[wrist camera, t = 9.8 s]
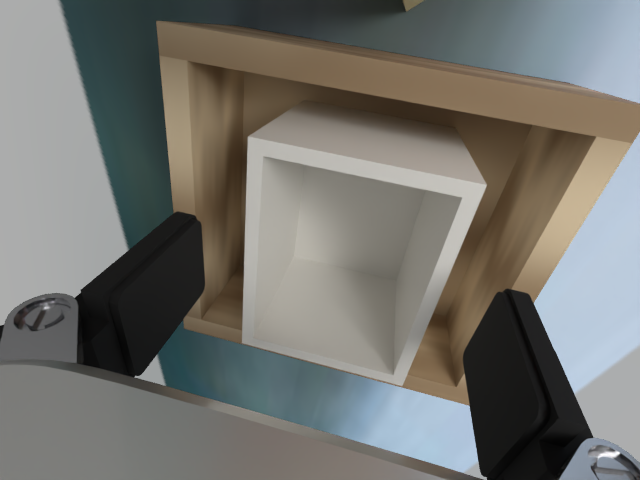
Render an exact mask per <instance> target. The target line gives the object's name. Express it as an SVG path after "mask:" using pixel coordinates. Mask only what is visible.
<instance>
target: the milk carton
mask: <svg viewBox="0 0 640 480" xmlns="http://www.w3.org/2000/svg"><path fill="white" fill-rule="evenodd" d="M402 1H403V4H404V7H405V10H406V12H407V11H408V10H410V9H411V8H413V7H415V6H416V5H418V4H420V3H421V2H423V1H424V0H402Z"/></svg>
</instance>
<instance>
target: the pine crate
mask: <svg viewBox="0 0 640 480" xmlns="http://www.w3.org/2000/svg"><path fill="white" fill-rule="evenodd" d="M156 25H157V36H158V47H159V58H160V69H161V80H162V91H163V101H164V112H165V123H166V134H167V145H168V156H169V167H170V178H171V189H172V200H173V211H174V213H175V212H177V211H179V212H183V213H188V214H192V215H195V216H196V218H197V220H198V221H200V222H201V225H202V240H203V256H204V271H205V289H204V291H203V293H202V295H201V296H200V298H199V299H198V300H197V302H196V303H195V304H194V306H193V307H192V308H191V310H190V311H189V312H188V314H187V315H186V316H185V318H184V319H183V320H184V329H188V330H191V331H195V332H199V333H202V334H206V335H210V336H213V337H217V338H221V339H225V340H228V341H232V342H236V343H239V344H243V343H242V321H243V287H244V253H245V219H246V184H247V150H248V136H249V135H251V134H253V133H254V132H256V131H257V130H259V129H260V128H262V127H263V126H265V125H266V124H268V123H270V122H271V121H273V120H274V119H276V118H277V117H279V116H280V115H282V114H283V113H285V112H287V111H288V110H290V109H291V108H293V107H294V106H296V105H297V104H299V103H300V102H302V101H304V100H308V101H313V102H319V103H324V104H329V105H334V106H340V107H345V108H350V109H356V110H361V111H366V112H372V113H377V114H382V115H387V116H393V117H398V118H403V119H409V120H414V121H419V122H425V123H430V124H435V125H441V126H446V127H451V128H456V130H457V132H458V133H459V135H460V137H461V139H462V141H463V143H464V144H465V146H466V148H467V150H468V152H469V153H470V155H471V157H472V159H473V161H474V162H475V164H476V166H477V168H478V170H479V171H480V173H481V175H482V177H483V179H484V180H485V182H486V184H487V186H486V189H485V191H484V193H483V196H482V198H481V201H480V203H479V205H478V208H477V210H476V212H475V215H474V217H473V220H472V222H471V224H470V227H469V229H468V231H467V234H466V236H465V239H464V241H463V243H462V246H461V248H460V250H459V253H458V255H457V258H456V260H455V262H454V265H453V267H452V269H451V272H450V274H449V277H448V279H447V281H446V284H445V286H444V288H443V291H442V293H441V296H440V298H439V300H438V303H437V305H436V307H435V310H434V312H433V315H432V317H431V319H430V322H429V324H428V326H427V329H426V331H425V334H424V336H423V338H422V341H421V343H420V345H419V348H418V350H417V353H416V355H415V357H414V360H413V362H412V364H411V367H410V369H409V371H408V374H407V376H406V379H405V381H404V383H403V386H400V385H396V384H392V383H389V382H385V381H381V380H377V379H374V378H370V377H366V376H362V375H359V374H355V373H351V372H348V371H344V370H340V369H336V368H333V367H329V366H325V365H321V364H318V363H314V362H310V361H307V360H303V359H299V358H295V357H292V356H288V355H284V354H280V353H277V352H273V351H269V350H265V349H262V348H258V347H254V346H251V345H247V344H243V345H247V346H251V347H254V348H258V349H262V350H265V351H269V352H273V353H276V354H280V355H284V356H288V357H291V358H295V359H299V360H302V361H306V362H310V363H314V364H317V365H321V366H325V367H328V368H332V369H336V370H339V371H343V372H347V373H351V374H354V375H358V376H362V377H365V378H369V379H373V380H377V381H380V382H384V383H388V384H391V385H395V386H399V387H402V388H406V389H410V390H414V391H417V392H421V393H425V394H428V395H432V396H436V397H440V398H443V399H447V400H451V401H454V402H458V403H462V404H465V405H469V406H470V404H469V398H468V392H467V386H466V379H465V373H464V367H463V353H464V350H465V348H466V346H467V345H468V343H469V341H470V339H471V337H472V336H473V334H474V332H475V330H476V328H477V327H478V325H479V323H480V321H481V320H482V318H483V316H484V314H485V312H486V311H487V309H488V307H489V305H490V303H491V302H492V300H493V298H494V296H495V295H496V293H497V292H503V291H504V290H505V289H512V290H516V291H521V292H525V293H528V294H529V295H530V297H531V299H532V301H533V303H534V301H535V300H536V298H537V297H538V295H539V293H540V292H541V290H542V289H543V287H544V285H545V284H546V282H547V280H548V279H549V277H550V276H551V274H552V272H553V271H554V269H555V268H556V266H557V264H558V263H559V261H560V259H561V258H562V256H563V255H564V253H565V251H566V250H567V248H568V247H569V245H570V243H571V242H572V240H573V238H574V237H575V235H576V234H577V232H578V230H579V229H580V227H581V226H582V224H583V222H584V221H585V219H586V217H587V216H588V214H589V213H590V211H591V209H592V208H593V206H594V205H595V203H596V201H597V200H598V198H599V196H600V195H601V193H602V192H603V190H604V188H605V187H606V185H607V184H608V182H609V180H610V179H611V177H612V175H613V174H614V172H615V171H616V169H617V167H618V166H619V164H620V163H621V161H622V159H623V158H624V156H625V154H626V153H627V151H628V150H629V148H630V146H631V145H632V143H633V142H634V140H635V138H636V137H637V135H638V133H639V132H640V104H639V103H636V102H632V101H629V100H625V99H622V98H619V97H615V96H612V95H608V94H605V93H601V92H598V91H594V90H591V89H588V88H584V87H581V86H577V85H574V84H570V83H566V82H560V81H554V80H548V79H542V78H537V77H531V76H525V75H519V74H513V73H508V72H502V71H496V70H490V69H484V68H479V67H473V66H467V65H461V64H455V63H449V62H444V61H438V60H432V59H426V58H420V57H415V56H409V55H403V54H397V53H391V52H386V51H380V50H374V49H368V48H362V47H357V46H351V45H345V44H339V43H333V42H327V41H322V40H316V39H310V38H304V37H298V36H293V35H287V34H281V33H275V32H269V31H264V30H258V29H252V28H246V27H240V26H234V25H220V24H203V23H186V22H169V21H156Z"/></svg>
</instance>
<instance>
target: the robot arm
mask: <svg viewBox="0 0 640 480" xmlns="http://www.w3.org/2000/svg"><path fill="white" fill-rule="evenodd" d="M204 289H205V271H204V256H203V240H202V225H201V222H200V221H198V220H197V218H196V216H195V215H192V214H188V213H183V212H179V211H177V212H175V213H173V214H172V215H171V216H170V217H169V218H167V219H166V220H165V221H164V222H163V223H161V224H160V225H159V226H158V227H157V228H155V229H154V230H153V231H152V232H150V233H149V234H148V235H147V236H146V237H144V238H143V239H142V240H141V241H140V242H138V243H137V244H136V245H135V246H133V247H132V248H131V249H130V250H129V251H127V252H126V253H125V254H124V255H123V256H121V257H120V258H119V259H118V260H117V261H115V262H114V263H113V264H112V265H110V266H109V267H108V268H107V269H106V270H104V271H103V272H102V273H101V274H100V275H98V276H97V277H96V278H95V279H93V280H92V281H91V282H90V283H89V284H87V285H86V286H85V287H84V288H83V289H81V293H80V294H79V295H78V296H76V297H75V298H73V297H72V296H70V295H67V294H60V293H52V294H45V295H41V296H38V297H34V298H32V299H29V300H27V301H25V302H23V303H22V304H20V305H19V306H17V307H16V308H14V309H13V310H12V311H11V313H10V314H9V315H8V317H7V319H6V321H5V324H4V325H2V326H0V480H483V479H480V478H476V477H473V476H470V475H467V474H464V473H461V472H458V471H454V470H451V469H448V468H445V467H442V466H438V465H435V464H431V463H428V462H425V461H421V460H418V459H415V458H411V457H408V456H404V455H401V454H398V453H394V452H391V451H388V450H384V449H381V448H377V447H374V446H371V445H367V444H364V443H361V442H357V441H354V440H350V439H347V438H344V437H340V436H337V435H333V434H330V433H326V432H323V431H320V430H316V429H313V428H309V427H306V426H302V425H299V424H296V423H292V422H289V421H285V420H282V419H278V418H275V417H271V416H268V415H265V414H261V413H258V412H254V411H251V410H247V409H244V408H240V407H237V406H233V405H230V404H226V403H223V402H219V401H216V400H212V399H209V398H205V397H202V396H198V395H195V394H191V393H188V392H184V391H181V390H177V389H174V388H170V387H167V386H163V385H160V384H156V383H153V382H148V381H145V380H141V379H138V378H134V377H135V376H139V375H141V374H142V373H143V372H144V371H145V369H146V368H147V367H148V366H149V364H150V362H151V361H152V360H153V359H154V358H155V356H156V355H157V354H158V352H159V351H160V350H161V348H162V347H163V346H164V344H165V343H166V342H167V340H168V339H169V338H170V336H171V335H172V334H173V332H174V331H175V330H176V328H177V327H178V326H179V324H180V323H181V322H182V320H183V319H184V318H185V316H186V315H187V314H188V312H189V311H190V310H191V308H192V307H193V306H194V304H195V303H196V302H197V300H198V299H199V298H200V296H201V295H202V293H203V291H204ZM463 367H464V373H465V379H466V386H467V392H468V398H469V404H470V411H471V417H472V423H473V430H474V436H475V442H476V448H477V455H478V461H479V467H480V472H481V474H482V475H483V476H484V477H487V480H640V462H638V461H637V460H636V459H635V458H634V457H633V456H632V455H630V454H629V453H628V452H627V451H625V450H624V449H622V448H621V447H619V446H618V445H616V444H614V443H611V442H609V441H607V440H604V439H599V438H593V436H592V433H591V431H590V429H589V426H588V424H587V422H586V420H585V417H584V416H583V413H582V411H581V408H580V406H579V404H578V402H577V400H576V397H575V395H574V393H573V390H572V388H571V386H570V384H569V381H568V379H567V377H566V375H565V372H564V370H563V368H562V366H561V363H560V361H559V359H558V356H557V354H556V352H555V350H554V349H553V347H552V344H551V342H550V340H549V337H548V335H547V333H546V331H545V328H544V326H543V324H542V322H541V319H540V317H539V315H538V313H537V310H536V308H535V306H534V303H533V301H532V299H531V297H530V295H529V294H528V293H525V292H521V291H516V290H512V289H505V290H504V291H503V292H497V293H496V295H495V296H494V298H493V300H492V302H491V303H490V305H489V307H488V309H487V311H486V312H485V314H484V316H483V318H482V320H481V321H480V323H479V325H478V327H477V328H476V330H475V332H474V334H473V336H472V337H471V339H470V341H469V343H468V345H467V346H466V348H465V350H464V353H463Z"/></svg>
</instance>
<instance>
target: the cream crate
mask: <svg viewBox="0 0 640 480" xmlns="http://www.w3.org/2000/svg"><path fill="white" fill-rule="evenodd" d="M486 186H487V184H486V182H485V180H484V179H483V177H482V175H481V173H480V171H479V170H478V168H477V166H476V164H475V162H474V161H473V159H472V157H471V155H470V153H469V152H468V150H467V148H466V146H465V144H464V143H463V141H462V139H461V137H460V135H459V133H458V132H457V130H456V128H451V127H446V126H441V125H435V124H430V123H425V122H419V121H414V120H409V119H403V118H398V117H393V116H387V115H382V114H377V113H372V112H366V111H361V110H356V109H350V108H345V107H340V106H334V105H329V104H324V103H319V102H313V101H308V100H304V101H302V102H300V103H299V104H297V105H296V106H294V107H293V108H291V109H290V110H288V111H287V112H285V113H283V114H282V115H280V116H279V117H277V118H276V119H274V120H273V121H271V122H270V123H268V124H266V125H265V126H263V127H262V128H260V129H259V130H257V131H256V132H254V133H253V134H251V135H249V136H248V150H247V184H246V219H245V253H244V287H243V321H242V343H243V344H247V345H251V346H254V347H258V348H262V349H265V350H269V351H273V352H277V353H280V354H284V355H288V356H292V357H295V358H299V359H303V360H307V361H310V362H314V363H318V364H321V365H325V366H329V367H333V368H336V369H340V370H344V371H348V372H351V373H355V374H359V375H362V376H366V377H370V378H374V379H377V380H381V381H385V382H389V383H392V384H396V385H400V386H403V383H404V381H405V379H406V376H407V374H408V371H409V369H410V367H411V364H412V362H413V360H414V357H415V355H416V353H417V350H418V348H419V345H420V343H421V341H422V338H423V336H424V334H425V331H426V329H427V326H428V324H429V322H430V319H431V317H432V315H433V312H434V310H435V307H436V305H437V303H438V300H439V298H440V296H441V293H442V291H443V288H444V286H445V284H446V281H447V279H448V277H449V274H450V272H451V269H452V267H453V265H454V262H455V260H456V258H457V255H458V253H459V250H460V248H461V246H462V243H463V241H464V239H465V236H466V234H467V231H468V229H469V227H470V224H471V222H472V220H473V217H474V215H475V212H476V210H477V208H478V205H479V203H480V201H481V198H482V196H483V193H484V191H485V189H486Z"/></svg>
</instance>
